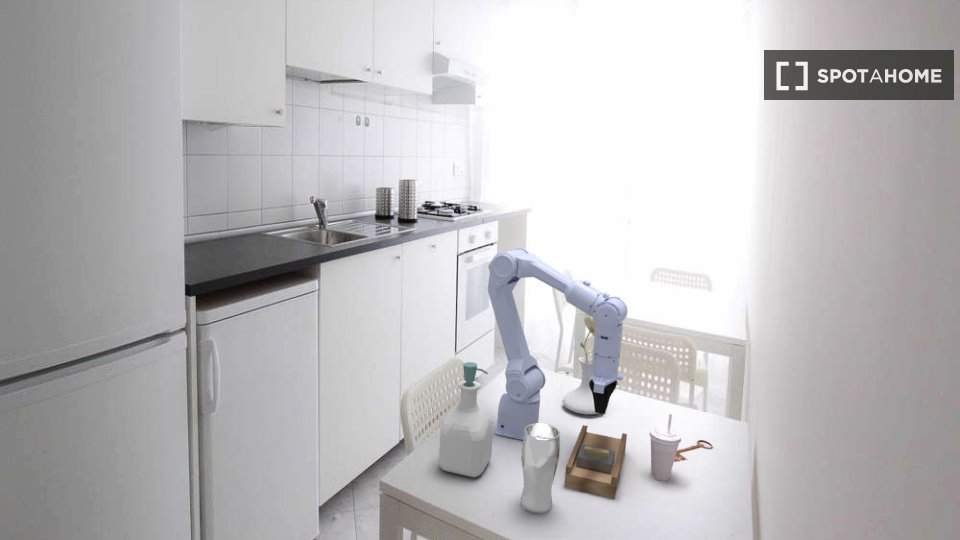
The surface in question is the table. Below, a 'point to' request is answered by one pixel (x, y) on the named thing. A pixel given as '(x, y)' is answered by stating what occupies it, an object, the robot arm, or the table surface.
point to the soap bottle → (466, 431)
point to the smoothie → (663, 450)
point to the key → (690, 449)
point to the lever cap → (595, 458)
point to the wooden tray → (591, 478)
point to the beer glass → (539, 466)
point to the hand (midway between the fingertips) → (600, 412)
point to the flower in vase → (583, 381)
